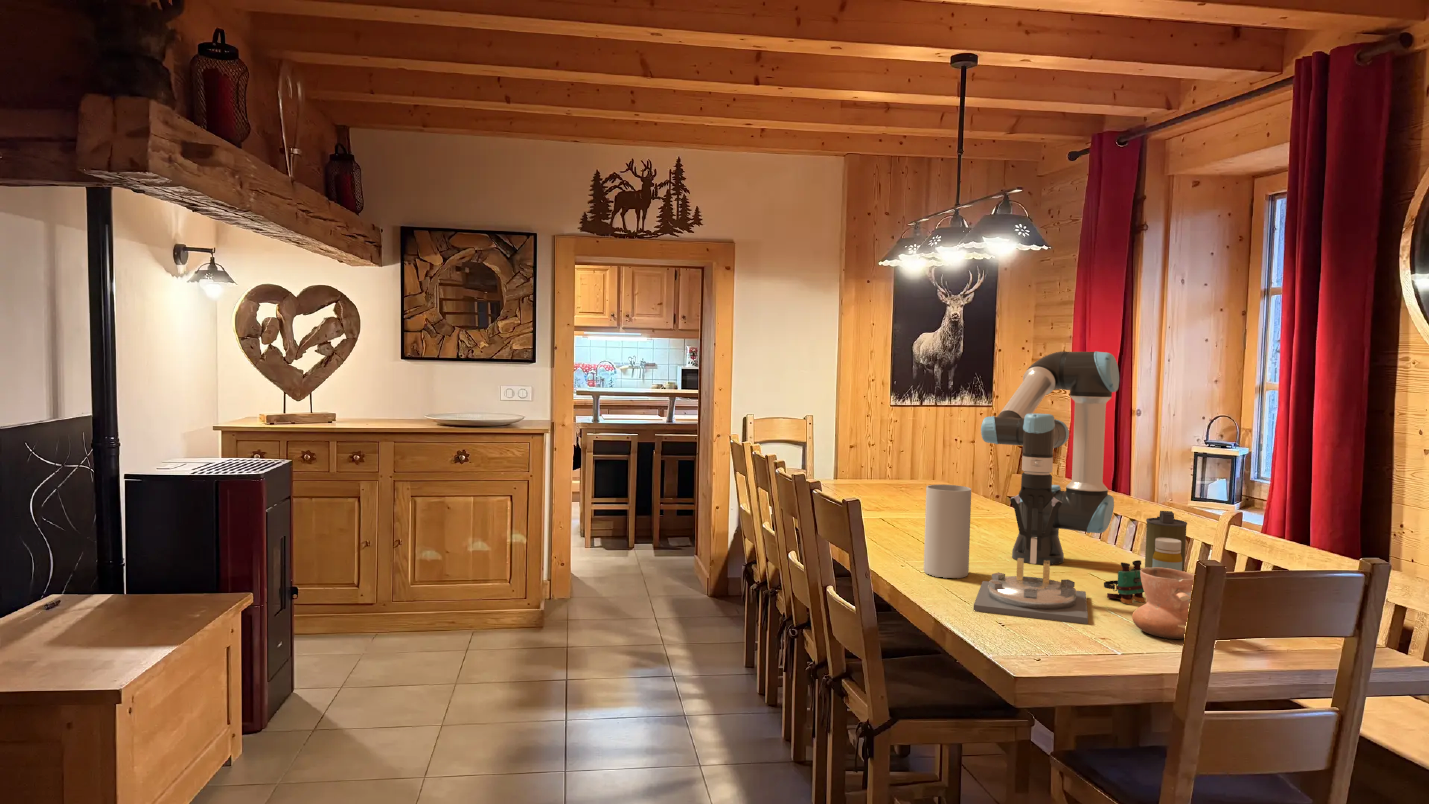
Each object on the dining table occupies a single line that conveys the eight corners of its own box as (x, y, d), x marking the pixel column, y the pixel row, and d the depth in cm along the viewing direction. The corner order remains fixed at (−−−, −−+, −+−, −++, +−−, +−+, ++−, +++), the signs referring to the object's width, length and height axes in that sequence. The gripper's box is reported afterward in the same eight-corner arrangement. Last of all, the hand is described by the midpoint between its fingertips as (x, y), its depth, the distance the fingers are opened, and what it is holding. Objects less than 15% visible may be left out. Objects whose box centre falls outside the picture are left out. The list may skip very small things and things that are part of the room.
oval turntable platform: (991, 583, 242) (992, 554, 242) (1075, 592, 235) (1076, 562, 234) (985, 603, 223) (986, 571, 222) (1076, 614, 215) (1077, 581, 215)
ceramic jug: (1217, 647, 197) (1220, 582, 196) (1148, 643, 198) (1151, 579, 197) (1180, 624, 215) (1183, 565, 214) (1118, 621, 216) (1121, 562, 215)
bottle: (1178, 593, 242) (1180, 538, 241) (1182, 600, 235) (1185, 543, 234) (1149, 591, 244) (1152, 536, 243) (1153, 597, 237) (1155, 541, 236)
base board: (982, 586, 246) (982, 578, 246) (1085, 597, 236) (1085, 589, 236) (973, 610, 222) (973, 602, 221) (1087, 624, 212) (1087, 615, 212)
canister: (1189, 587, 248) (1192, 515, 247) (1148, 585, 251) (1152, 513, 249) (1177, 578, 259) (1180, 509, 258) (1138, 575, 261) (1141, 507, 260)
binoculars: (1117, 556, 241) (1150, 560, 233) (1119, 596, 241) (1152, 602, 232) (1094, 559, 237) (1127, 564, 228) (1096, 600, 237) (1129, 605, 228)
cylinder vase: (960, 581, 250) (963, 492, 249) (917, 575, 257) (920, 488, 256) (973, 572, 261) (976, 487, 260) (931, 566, 268) (934, 483, 266)
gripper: (1009, 472, 233) (1006, 562, 234) (1063, 476, 228) (1059, 568, 229) (1011, 469, 240) (1007, 557, 241) (1063, 473, 235) (1059, 562, 236)
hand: (1033, 562), depth 235 cm, fingers closed
